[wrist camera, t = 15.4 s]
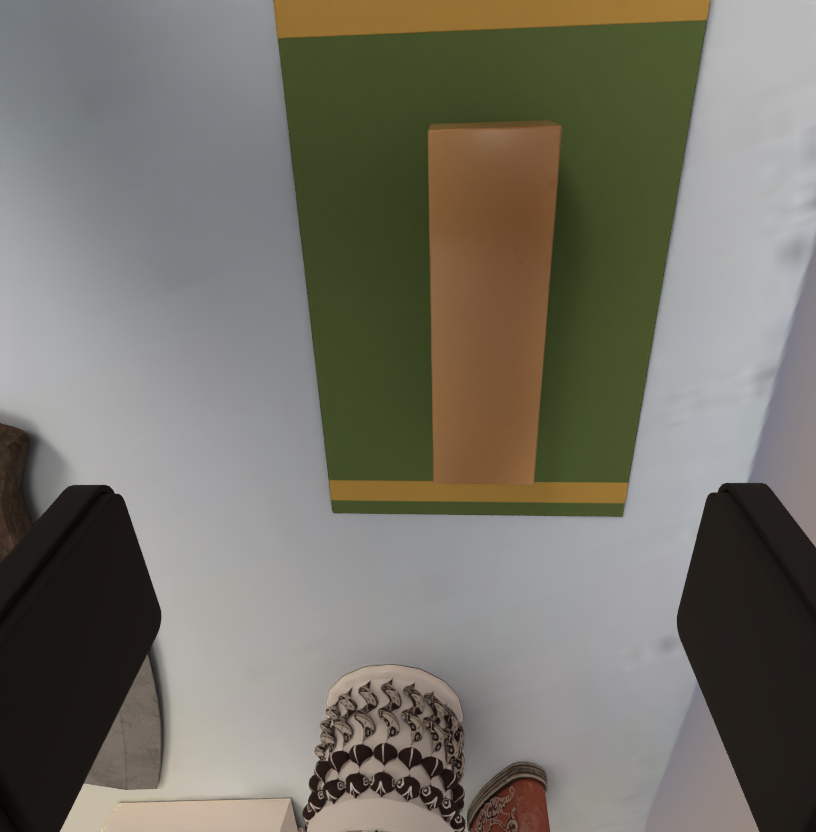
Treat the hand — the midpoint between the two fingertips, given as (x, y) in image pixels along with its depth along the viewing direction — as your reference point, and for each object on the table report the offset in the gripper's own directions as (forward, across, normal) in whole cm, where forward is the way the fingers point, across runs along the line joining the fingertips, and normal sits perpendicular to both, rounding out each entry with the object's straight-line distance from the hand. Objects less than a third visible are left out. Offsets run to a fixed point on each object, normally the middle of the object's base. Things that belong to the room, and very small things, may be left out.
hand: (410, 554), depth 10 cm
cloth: (+16, -2, +1) cm, 17 cm away
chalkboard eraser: (+16, -2, +1) cm, 16 cm away
